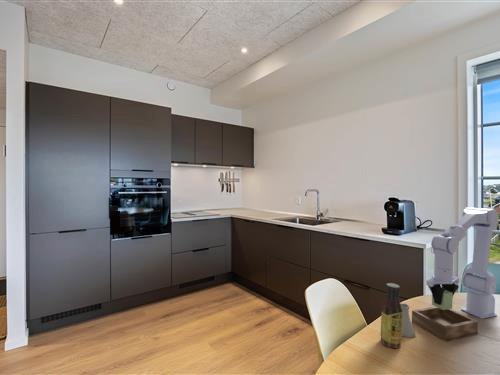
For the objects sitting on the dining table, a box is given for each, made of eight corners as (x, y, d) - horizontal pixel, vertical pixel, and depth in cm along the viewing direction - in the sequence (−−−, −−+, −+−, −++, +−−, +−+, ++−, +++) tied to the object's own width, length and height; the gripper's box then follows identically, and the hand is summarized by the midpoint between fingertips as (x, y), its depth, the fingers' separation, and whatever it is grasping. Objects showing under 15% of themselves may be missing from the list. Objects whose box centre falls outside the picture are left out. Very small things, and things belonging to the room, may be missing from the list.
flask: (409, 327, 98) (409, 301, 98) (419, 338, 91) (420, 310, 91) (389, 326, 99) (389, 300, 99) (397, 337, 92) (398, 309, 91)
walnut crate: (441, 315, 107) (442, 305, 107) (477, 333, 94) (478, 321, 94) (411, 321, 102) (412, 310, 102) (445, 341, 90) (445, 328, 89)
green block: (440, 303, 103) (440, 288, 103) (452, 308, 99) (452, 292, 99) (431, 304, 102) (432, 289, 102) (443, 310, 97) (443, 294, 97)
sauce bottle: (393, 351, 84) (395, 290, 83) (376, 341, 89) (377, 283, 89) (406, 346, 87) (407, 286, 86) (388, 336, 92) (389, 280, 92)
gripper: (446, 262, 106) (445, 296, 106) (419, 265, 101) (418, 300, 102) (465, 268, 99) (464, 304, 99) (437, 271, 95) (436, 309, 95)
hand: (442, 302), depth 100 cm, fingers closed on green block, 4 cm apart
